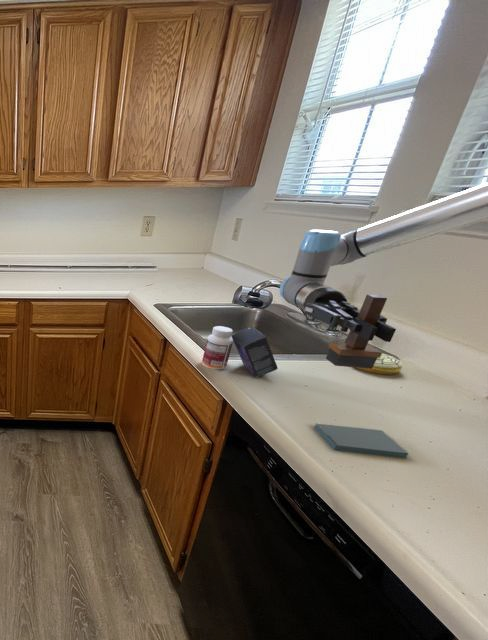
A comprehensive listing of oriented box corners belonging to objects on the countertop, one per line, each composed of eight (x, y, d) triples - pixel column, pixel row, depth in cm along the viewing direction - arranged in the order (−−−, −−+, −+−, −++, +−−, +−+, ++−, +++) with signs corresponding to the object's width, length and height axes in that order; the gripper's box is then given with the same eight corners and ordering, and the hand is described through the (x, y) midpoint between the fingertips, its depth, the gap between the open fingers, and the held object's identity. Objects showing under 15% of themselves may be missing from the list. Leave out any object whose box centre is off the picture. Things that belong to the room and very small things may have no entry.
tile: (378, 436, 85) (381, 430, 85) (405, 459, 78) (408, 453, 78) (313, 429, 88) (315, 423, 87) (333, 451, 81) (336, 445, 80)
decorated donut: (343, 358, 122) (348, 346, 120) (390, 365, 118) (395, 352, 116) (353, 372, 113) (358, 359, 112) (404, 379, 109) (410, 366, 107)
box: (243, 366, 116) (230, 334, 113) (264, 357, 114) (251, 324, 111) (256, 378, 109) (242, 345, 106) (279, 369, 107) (265, 335, 104)
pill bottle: (212, 360, 120) (222, 324, 115) (230, 368, 115) (241, 331, 110) (196, 363, 118) (205, 326, 113) (213, 372, 113) (224, 333, 108)
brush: (361, 360, 92) (391, 294, 85) (374, 369, 88) (406, 300, 81) (323, 357, 93) (349, 292, 87) (334, 366, 89) (362, 298, 83)
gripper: (350, 318, 103) (418, 355, 82) (281, 314, 106) (330, 349, 85) (362, 289, 100) (436, 319, 79) (291, 285, 102) (344, 313, 82)
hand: (381, 334), depth 82 cm, fingers closed on brush, 2 cm apart
